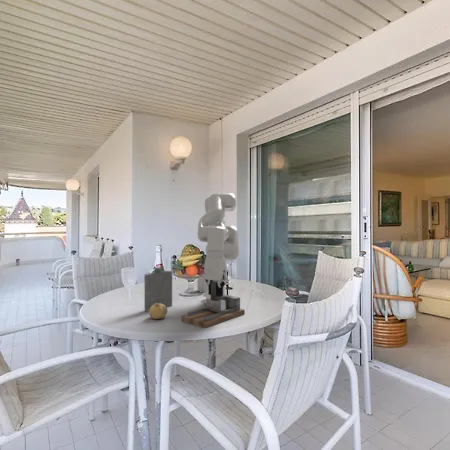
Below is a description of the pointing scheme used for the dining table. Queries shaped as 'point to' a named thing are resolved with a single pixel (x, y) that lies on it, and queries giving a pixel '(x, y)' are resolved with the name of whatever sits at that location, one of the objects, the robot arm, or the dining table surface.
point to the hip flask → (158, 288)
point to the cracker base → (215, 313)
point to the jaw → (215, 299)
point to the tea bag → (201, 285)
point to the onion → (157, 311)
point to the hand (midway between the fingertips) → (215, 294)
